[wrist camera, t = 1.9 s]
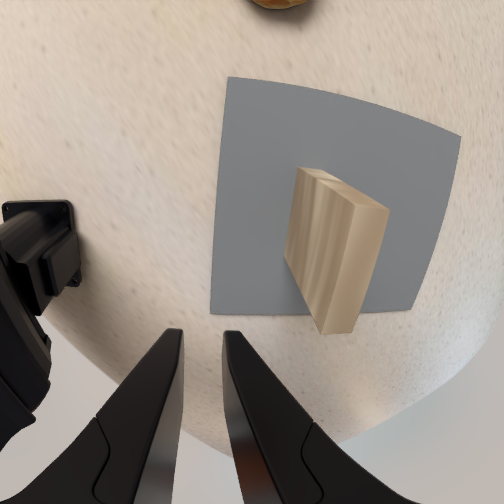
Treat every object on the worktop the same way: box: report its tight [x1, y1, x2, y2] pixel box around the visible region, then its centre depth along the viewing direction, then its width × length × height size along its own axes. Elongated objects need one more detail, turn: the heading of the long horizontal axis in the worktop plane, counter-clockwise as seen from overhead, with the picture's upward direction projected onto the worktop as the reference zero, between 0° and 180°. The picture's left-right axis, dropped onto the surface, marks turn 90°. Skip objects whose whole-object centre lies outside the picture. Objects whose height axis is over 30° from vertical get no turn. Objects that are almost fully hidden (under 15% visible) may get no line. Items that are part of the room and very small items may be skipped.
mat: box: [210, 77, 461, 315], centre depth 19 cm, size 18×16×1 cm
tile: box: [284, 167, 390, 335], centre depth 15 cm, size 2×6×8 cm, turn 174°
